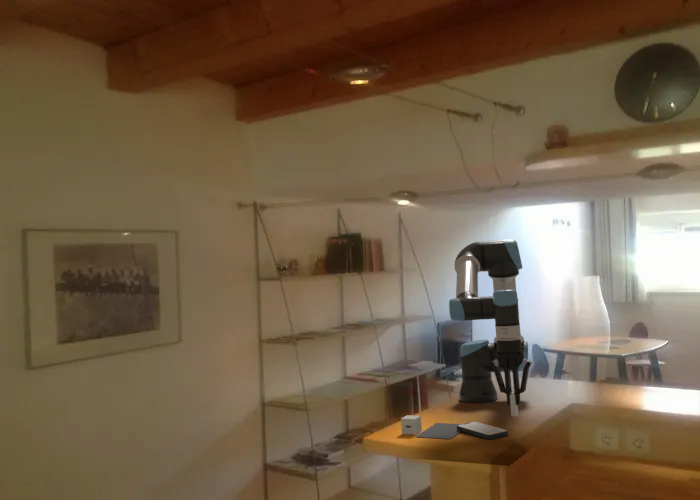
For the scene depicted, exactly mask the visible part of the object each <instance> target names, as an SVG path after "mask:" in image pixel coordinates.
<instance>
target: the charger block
mask: <svg viewBox="0 0 700 500" xmlns="http://www.w3.org/2000/svg"><path fill="white" fill-rule="evenodd" d="M400 423H401V425H400V427H401V434H402V435H411V434H412V436H413V435H415V436H417V435H419V434H420V433H422V432H423V430H422V429H423V427H422V416H421V415H409V414H407V415H405V416H403V417H401V418H400Z"/></svg>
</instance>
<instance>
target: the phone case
mask: <svg viewBox="0 0 700 500" xmlns="http://www.w3.org/2000/svg"><path fill="white" fill-rule="evenodd" d="M460 424H461V425H457V430H459V431H462V432H463V433H466V434H470V435H472V436H475V437H480V438H483V439H486V440H493V439H498V438H502V437H506V436H508V435H509V430H508V429H504V428H500V427H498V426H497V427H496V426H493V425H489V424H486V423H481V422H479V421H470V422H466V423H460Z"/></svg>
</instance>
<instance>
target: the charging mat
mask: <svg viewBox="0 0 700 500" xmlns="http://www.w3.org/2000/svg"><path fill="white" fill-rule="evenodd" d="M461 424H462V423H449V422H447V423H446V422H443V423H442V422H435V423H434V424H432V425H431V426H429V427H428V428H427V429H425V430H422V431H421V432H420V433H418V434H417V435H415V438H419V439H420V438H422V439H423V438H424V439H425V438H426V439H439V440H452V439H454V438H455V437H456V436H458V435H459V434H461V432H463V431H459V430H457V425H461Z"/></svg>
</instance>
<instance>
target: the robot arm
mask: <svg viewBox="0 0 700 500" xmlns="http://www.w3.org/2000/svg"><path fill="white" fill-rule="evenodd" d="M521 269H523V263H522V257H521V255H520V249H519V245H518V242H517V241H516V240H515V239H513V238H512V239H505V238H503V239H495V240H485V241H475V242H472V243H469V244H468V245H466V246H465V247H464V248H462V249H461V250H460V251H459V253H458V254H457V256H456V257H455V260H454V270H455V273H456V283H455V284H456V286H455V287H456V289H455V290H456V291H455V298H451V299H449V301H448V311H449V317H450V320H452V321H454V322H456V321H457V322H458V321H459V322H465V321H477V320H494V323H495V327H494V328H495V337H494V338H493V342H490V341H489V339H487V338H486V339H477V340H473V341H468V342H465V343H463V344H461V345H460V347H459V351H460V352H459V354H460V355H459V357H460V364H461V365H460V366H461V379H462V382H461V386H460V389H459V394H458V396H459V397H458V399H459V401H461V402H463V403H464V402H465V403H487V402H493V401H496V400H497V399H499V398H498V391H497V389H496V386H495V384H494V382H493V379H492V373H494V375H495V379H496V382H497V384H498V389H499V391H500V392H501V393H504V394H505V395H506V403H507V405H508V406H509V405H510V412H511V413H510V415H511V417H517V416H519V407H518V406H520V405H521V394H523V393H525V392H526V389H527V386H528V385H527V384H528V378H529V371H530V368H531V366H532V364H533V361H532V360H529V344H528V341H525V338H524V336H522V333H521V325H520V324H521V323H520V311H519V310H520V309H519V298H518V292H517V285H516V284H517V282H516V278H517V276H518V275H520V272H519V271H520V270H521ZM480 272H487V273H488V274H487V275H488V276H487V277H489V278H491V279H492V287H493V288H492V290H493V292H492V295H491V296H490V295H489V296H479V276H478V275H479V273H480ZM519 372H522V374H521V375H522V376H521V382H520V376H519ZM502 373H504V379H503V376H502V375H503V374H502ZM511 373H512V378H511ZM512 380H513V381H512ZM512 382H513V387H512ZM512 389H513V390H512Z"/></svg>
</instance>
